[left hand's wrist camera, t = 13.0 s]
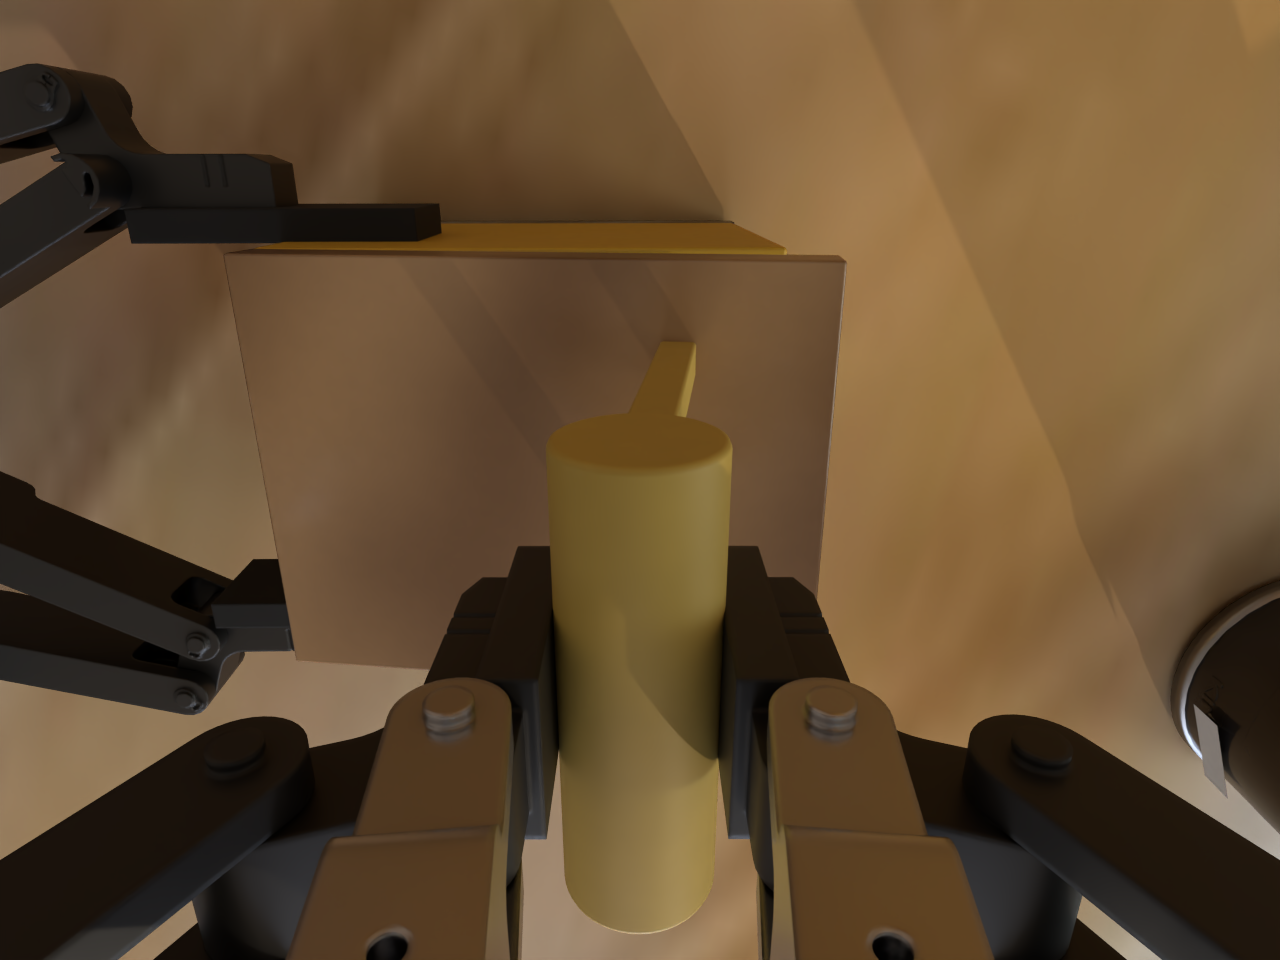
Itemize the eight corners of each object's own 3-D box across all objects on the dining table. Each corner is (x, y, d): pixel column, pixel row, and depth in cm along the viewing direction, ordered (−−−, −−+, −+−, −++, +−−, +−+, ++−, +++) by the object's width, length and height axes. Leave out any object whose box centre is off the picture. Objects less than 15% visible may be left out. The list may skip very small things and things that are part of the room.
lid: (840, 254, 16) (947, 344, 8) (804, 669, 19) (852, 1033, 11) (252, 248, 17) (-187, 318, 9) (317, 637, 20) (42, 942, 12)
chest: (730, 220, 26) (788, 246, 17) (720, 492, 29) (763, 631, 21) (376, 221, 26) (249, 247, 17) (406, 495, 29) (315, 636, 20)
